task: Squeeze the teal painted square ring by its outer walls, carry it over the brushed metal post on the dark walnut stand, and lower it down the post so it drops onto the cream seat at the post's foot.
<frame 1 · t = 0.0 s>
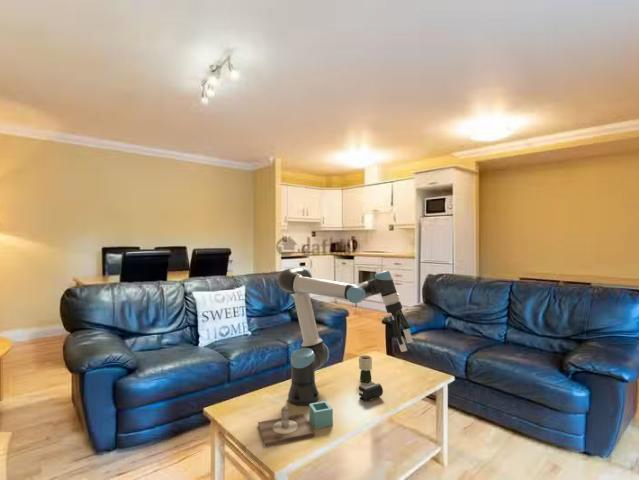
hand: (407, 346, 167), 28 cm above the table, tool tilted 20°, fingers open, 13 cm apart
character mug: (365, 381, 196), on the table
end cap: (370, 399, 175), on the table
post stand: (285, 430, 148), on the table
teal ring: (320, 422, 154), on the table
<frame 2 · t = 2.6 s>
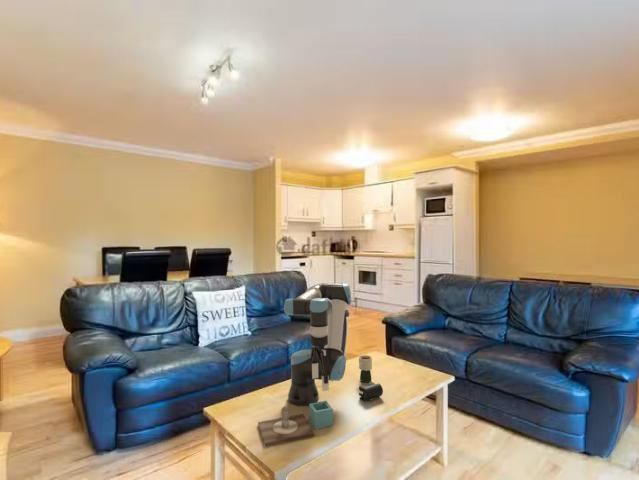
hand: (320, 384, 153), 17 cm above the table, tool pointing down, fingers open, 13 cm apart
nothing on the table moved.
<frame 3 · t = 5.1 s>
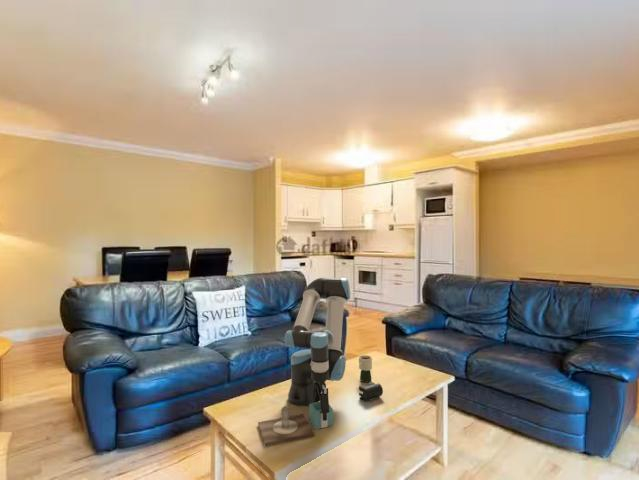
hand: (320, 421, 154), 0 cm above the table, tool pointing down, fingers closed on teal ring, 8 cm apart
teal ring: (320, 422, 154), on the table, touching gripper
everything else where it was.
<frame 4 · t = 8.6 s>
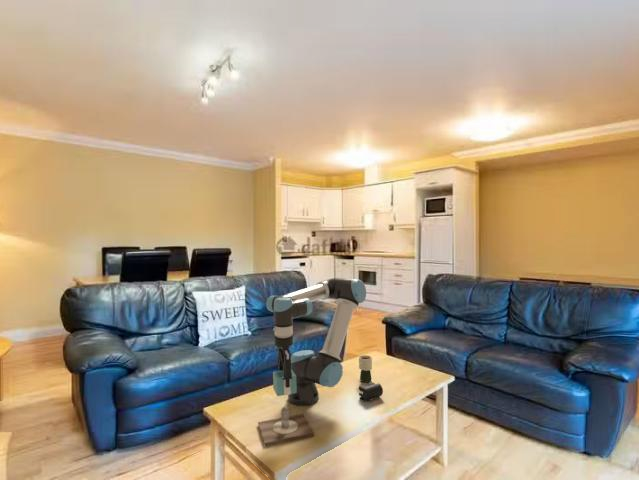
hand: (284, 389, 148), 17 cm above the table, tool pointing down, fingers closed on teal ring, 8 cm apart
teal ring: (284, 390, 148), point 17 cm above the table, touching gripper
everything else where it was.
when the fingers open (3 cm above the table, at t = 12.2 s): teal ring stays where it is, resting on post stand.
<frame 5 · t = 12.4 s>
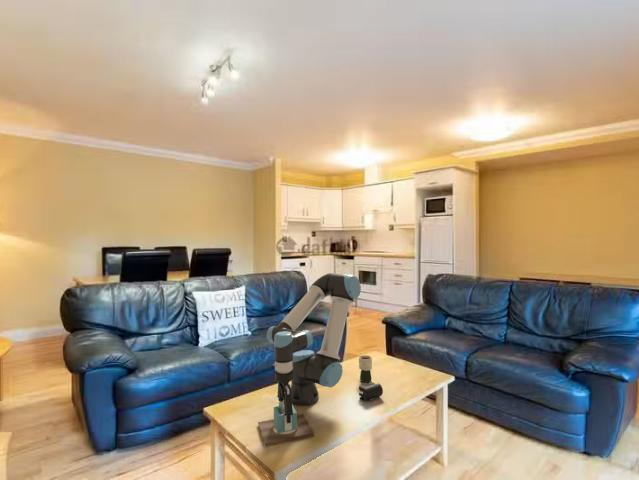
hand: (285, 423, 148), 3 cm above the table, tool pointing down, fingers open, 10 cm apart
teal ring: (285, 426, 148), point 2 cm above the table, touching post stand
everything else where it was.
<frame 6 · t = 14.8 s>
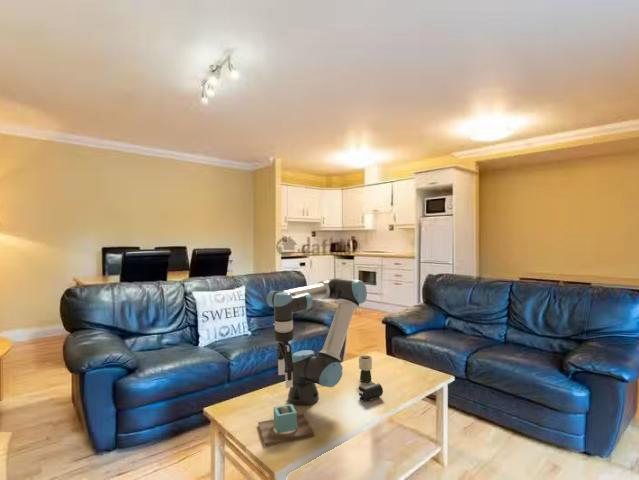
hand: (285, 380, 148), 21 cm above the table, tool pointing down, fingers open, 13 cm apart
nothing on the table moved.
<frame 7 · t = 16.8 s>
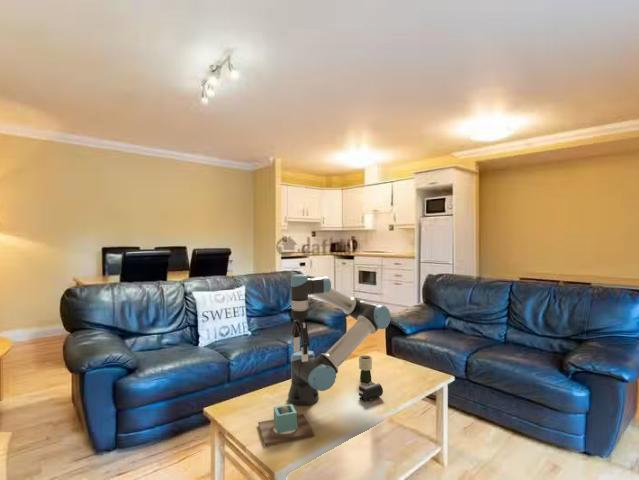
hand: (300, 356, 160), 27 cm above the table, tool pointing down, fingers open, 13 cm apart
nothing on the table moved.
at the end: teal ring 0.0 cm from the post stand (horizontally); teal ring point 1.8 cm above the table; teal ring tilted 0° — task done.
